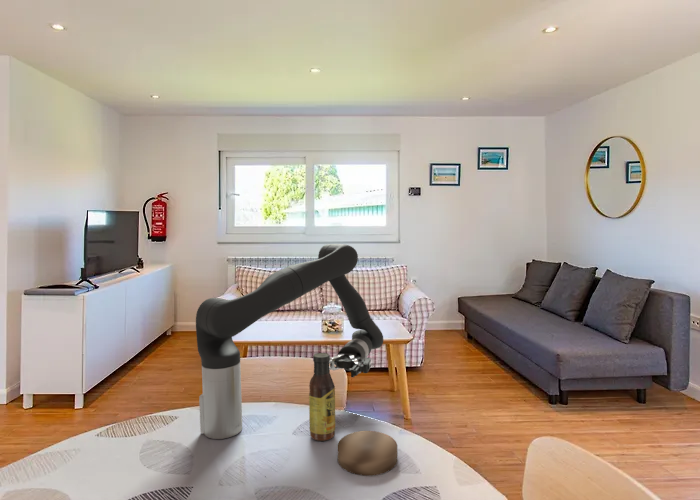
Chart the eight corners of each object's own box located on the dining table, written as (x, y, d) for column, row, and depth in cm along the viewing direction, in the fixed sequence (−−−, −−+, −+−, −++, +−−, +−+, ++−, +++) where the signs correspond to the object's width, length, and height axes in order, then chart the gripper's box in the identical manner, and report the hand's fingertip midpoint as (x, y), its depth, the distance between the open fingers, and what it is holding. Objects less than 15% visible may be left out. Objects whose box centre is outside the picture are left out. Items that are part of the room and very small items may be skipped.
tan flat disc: (329, 470, 90) (329, 456, 89) (347, 440, 102) (347, 427, 102) (391, 480, 86) (390, 465, 86) (402, 447, 98) (402, 434, 98)
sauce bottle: (332, 443, 101) (330, 360, 99) (306, 441, 102) (304, 358, 101) (338, 430, 107) (336, 351, 106) (314, 428, 108) (312, 350, 107)
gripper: (331, 340, 132) (311, 356, 116) (376, 343, 128) (362, 360, 112) (331, 364, 132) (312, 383, 117) (377, 367, 128) (363, 388, 113)
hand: (336, 372), depth 114 cm, fingers open, 8 cm apart
